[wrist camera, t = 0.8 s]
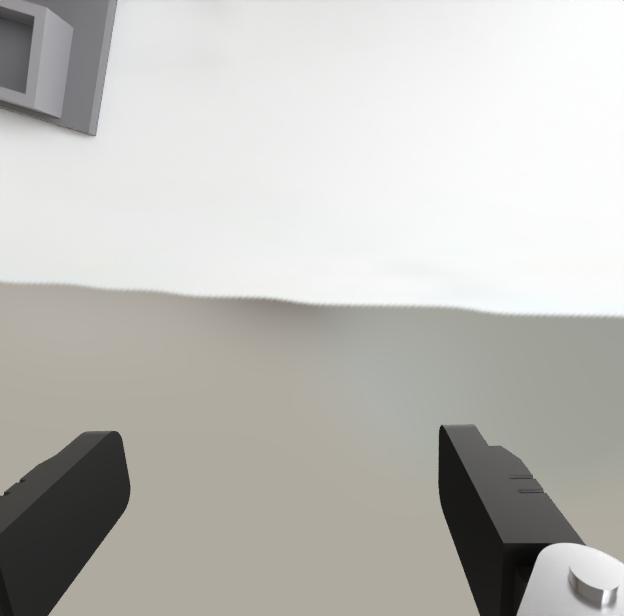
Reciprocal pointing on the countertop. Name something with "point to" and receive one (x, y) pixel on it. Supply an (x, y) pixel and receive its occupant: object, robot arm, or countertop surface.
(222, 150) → the countertop surface
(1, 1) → the grey boxy piece
